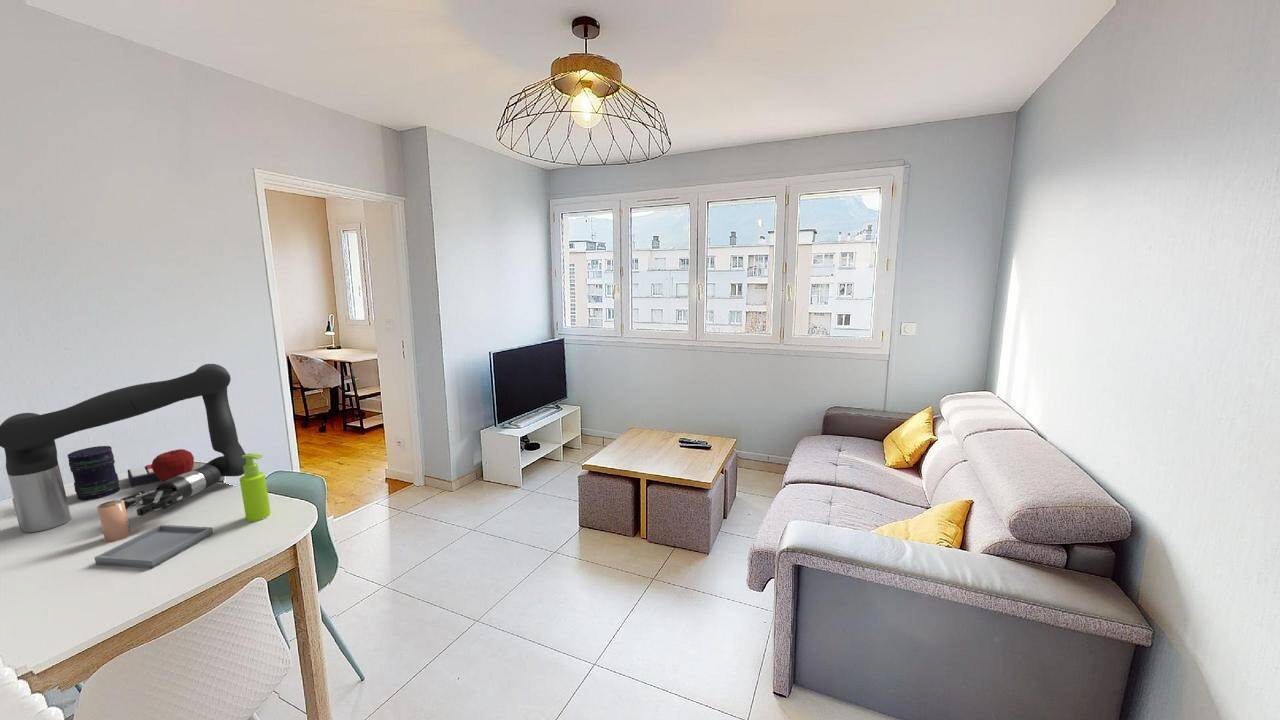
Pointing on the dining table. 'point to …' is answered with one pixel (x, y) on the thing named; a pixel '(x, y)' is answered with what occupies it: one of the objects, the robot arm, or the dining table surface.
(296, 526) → the dining table surface
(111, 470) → the storage jar
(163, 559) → the tray
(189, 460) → the apple
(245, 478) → the soap dispenser
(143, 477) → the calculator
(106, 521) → the cup
